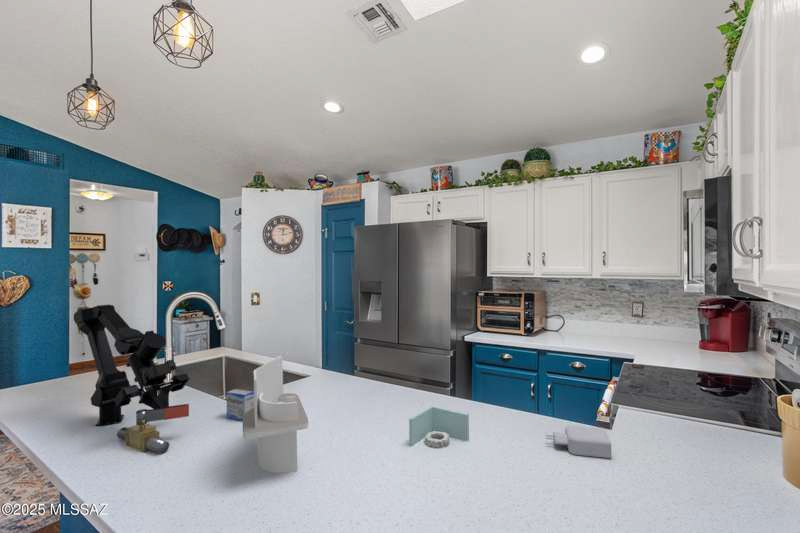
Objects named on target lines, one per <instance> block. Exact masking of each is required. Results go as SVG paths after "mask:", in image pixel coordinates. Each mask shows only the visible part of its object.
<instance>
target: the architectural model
mask: <svg viewBox="0 0 800 533" xmlns="http://www.w3.org/2000/svg"><path fill="white" fill-rule="evenodd" d="M283 360H284V359H283V355H281V354H280V355H278V356H276V357H275V358H273V359H271V360H269V361H268V362H267V363H264V364H262V365H260V366H259V367H257V368H255V369H254V370H253V391H254V407H253V408H252V409H251V410H249V411H248V412H247V413H245V414H244V415H243V421H242V438H243V440H251V439H256V438H257V464H258V467H259V468H260V469H261V470H262V469H263V472H267V473H271V474H289V473H295V472H298V445H297V444H298V439H297V438H298V436H297V433H298V432H297V431H300V430H305V429H308V428H309V417H308V415H307V413H306V411H305V408H304V406H303V403H302V402H301V399H300V397H299V395H298V394H296V393H294V392H293V393H291V392H289V393H287V392H284V373H283V372H284V371H283V370H284V368H283V367H284V366H283Z"/></svg>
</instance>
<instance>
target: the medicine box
mask: <svg viewBox="0 0 800 533" xmlns="http://www.w3.org/2000/svg"><path fill="white" fill-rule="evenodd" d="M253 407H254V390H247V389H237V388H233V389H232V390H231V389H230V390H229V391H227V392H226V419H227V420H233V421H240V422H243V415H244V414H245V413H247V412H248V411H249V410H251V409H252V408H253Z"/></svg>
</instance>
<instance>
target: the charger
mask: <svg viewBox="0 0 800 533" xmlns="http://www.w3.org/2000/svg"><path fill="white" fill-rule="evenodd" d="M545 439H546V440H553V443H554V445H561V446H562V445H563V446H566V447H567V450H568V452H569V453H570V454H572V455H574V456H581V457H582V456H585V457H594V458H604V459H612V442H611V438H610V437H609V435H608V434H607V432H606V429H605V428H603V427H591V426H581V425H579V426H578V425H570V424H569V425H567V426H565V427H564V432H559V431H557V432H556V431H553V432H552V434H545Z"/></svg>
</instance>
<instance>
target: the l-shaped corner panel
mask: <svg viewBox="0 0 800 533" xmlns="http://www.w3.org/2000/svg"><path fill="white" fill-rule="evenodd" d="M469 417H470V415H469V413H466V412H462V411H458V410H452V409H449V408H444V407H441V406H435V405H430V406H428V407H427V408H425V409H423V410H421V411H420V412H418V413H416V414H415V415H413V416H411V417H410V418H409V419H408V423H409V426H408V427H409V429H408V431H409V432H408V434H409V435H408V436H409V438H408V439H409V440H408V442H409V447H414V445H416V444H417V443H419V442H420V441H422V440H424V439H425V440H424V443H425V445H426V446H428V448H431V447H432V448H433V449H435V448H436V449H439V448H441V449H444V448H446V447H448V446H449V444H450V441H451V440H450V438H455V439H459V440H462V441H466V442H468V441H469V440H470V418H469Z"/></svg>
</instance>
